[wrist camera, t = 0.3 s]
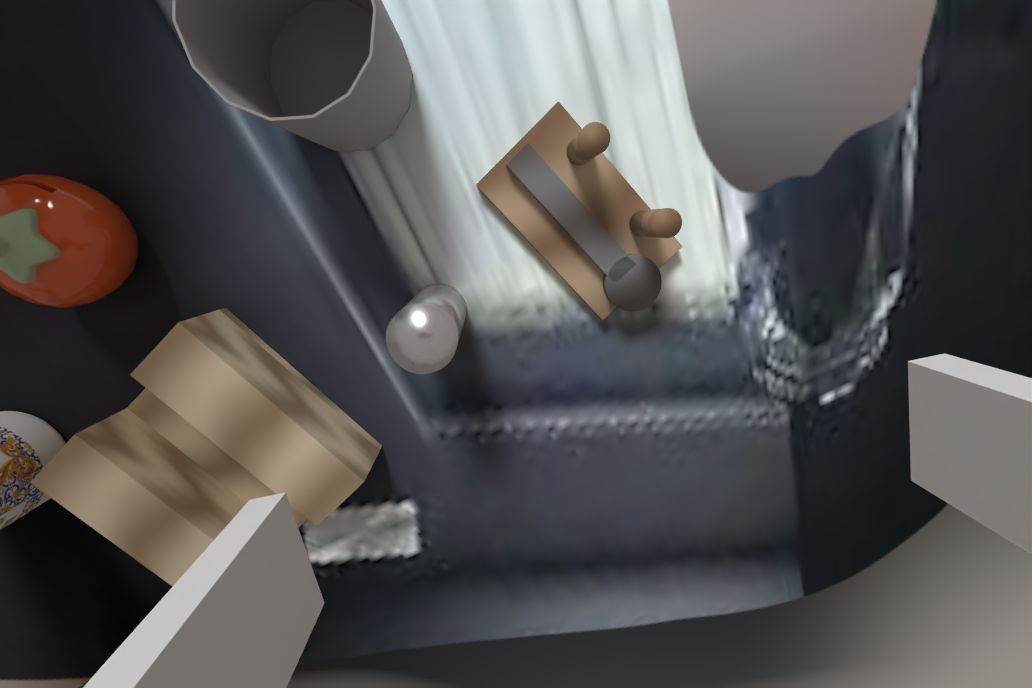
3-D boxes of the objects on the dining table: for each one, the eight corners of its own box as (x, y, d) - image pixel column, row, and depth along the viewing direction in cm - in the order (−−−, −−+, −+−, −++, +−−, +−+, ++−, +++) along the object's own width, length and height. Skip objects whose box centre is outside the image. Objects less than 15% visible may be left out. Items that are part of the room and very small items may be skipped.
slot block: (95, 445, 36) (30, 482, 31) (225, 307, 34) (178, 322, 29) (254, 567, 38) (218, 619, 33) (382, 445, 37) (364, 481, 31)
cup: (430, 130, 32) (402, 89, 22) (306, 169, 32) (224, 146, 22) (383, -18, 30) (330, -134, 20) (251, 25, 30) (135, -69, 20)
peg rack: (476, 186, 33) (473, 177, 27) (556, 105, 32) (570, 78, 26) (610, 328, 35) (633, 349, 29) (687, 257, 34) (727, 264, 29)
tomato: (150, 175, 32) (39, 160, 24) (176, 294, 33) (80, 315, 26) (28, 182, 32) (-124, 169, 24) (61, 301, 33) (-71, 325, 25)
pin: (401, 309, 34) (370, 339, 26) (439, 272, 34) (420, 289, 25) (440, 346, 35) (422, 387, 26) (477, 310, 35) (472, 340, 26)
